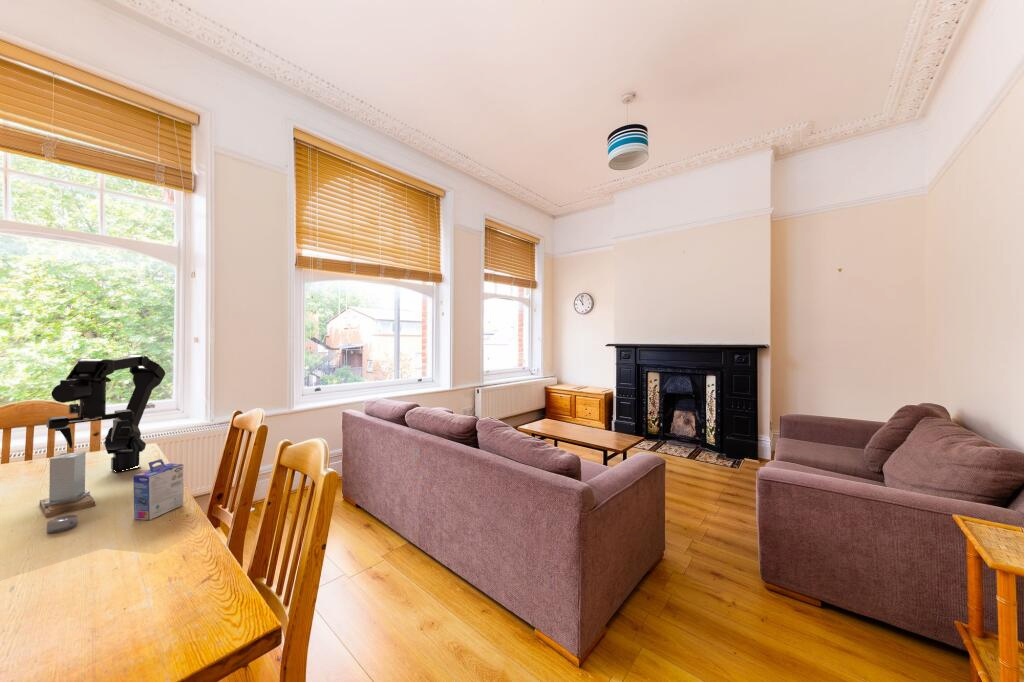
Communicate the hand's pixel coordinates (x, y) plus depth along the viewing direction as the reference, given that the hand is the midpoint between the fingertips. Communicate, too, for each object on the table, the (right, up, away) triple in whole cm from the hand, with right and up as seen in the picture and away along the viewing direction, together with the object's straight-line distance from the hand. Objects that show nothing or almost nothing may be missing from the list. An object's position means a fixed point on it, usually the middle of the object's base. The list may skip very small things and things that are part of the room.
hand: (92, 444), depth 123 cm
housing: (+9, -12, -14) cm, 21 cm away
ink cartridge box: (+38, -15, -17) cm, 44 cm away
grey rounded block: (+22, -14, -27) cm, 38 cm away
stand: (+9, -14, -14) cm, 22 cm away
